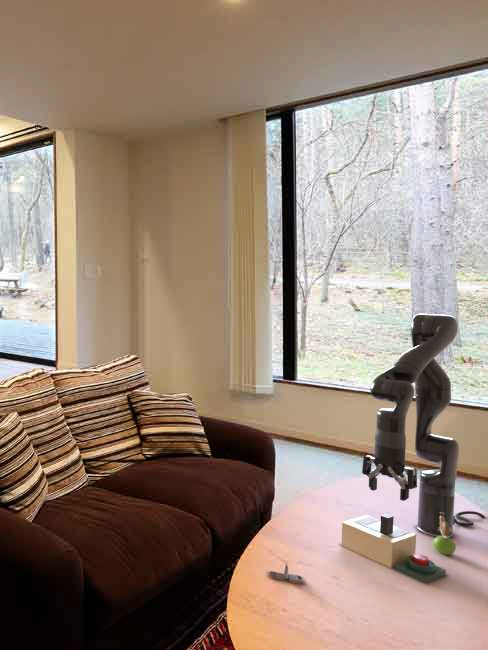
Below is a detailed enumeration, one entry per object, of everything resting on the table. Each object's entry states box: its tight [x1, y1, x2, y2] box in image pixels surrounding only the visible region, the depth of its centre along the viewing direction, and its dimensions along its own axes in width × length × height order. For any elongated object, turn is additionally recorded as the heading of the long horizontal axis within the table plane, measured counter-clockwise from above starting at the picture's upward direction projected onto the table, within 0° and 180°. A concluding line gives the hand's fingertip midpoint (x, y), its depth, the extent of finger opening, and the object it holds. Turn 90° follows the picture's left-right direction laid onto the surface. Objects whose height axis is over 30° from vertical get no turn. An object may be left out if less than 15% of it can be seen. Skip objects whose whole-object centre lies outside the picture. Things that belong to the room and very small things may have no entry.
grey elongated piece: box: [269, 562, 304, 584], centre depth 157 cm, size 8×3×4 cm, turn 65°
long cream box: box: [341, 514, 417, 569], centre depth 171 cm, size 12×15×8 cm
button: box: [413, 553, 430, 565], centre depth 159 cm, size 4×4×2 cm
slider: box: [380, 513, 395, 535], centre depth 166 cm, size 3×2×6 cm, turn 113°
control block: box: [394, 555, 447, 584], centre depth 159 cm, size 10×8×4 cm
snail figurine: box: [432, 512, 457, 556], centre depth 170 cm, size 5×6×12 cm
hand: (388, 494), depth 165 cm, fingers open, 8 cm apart
